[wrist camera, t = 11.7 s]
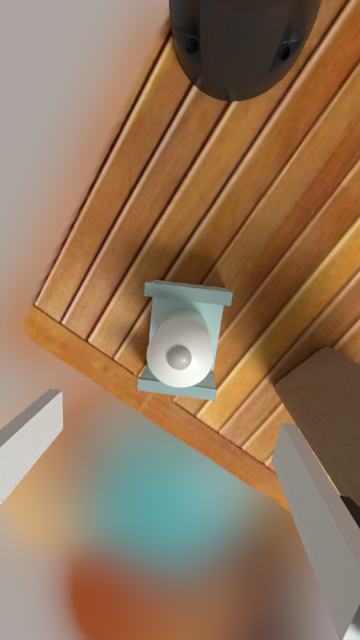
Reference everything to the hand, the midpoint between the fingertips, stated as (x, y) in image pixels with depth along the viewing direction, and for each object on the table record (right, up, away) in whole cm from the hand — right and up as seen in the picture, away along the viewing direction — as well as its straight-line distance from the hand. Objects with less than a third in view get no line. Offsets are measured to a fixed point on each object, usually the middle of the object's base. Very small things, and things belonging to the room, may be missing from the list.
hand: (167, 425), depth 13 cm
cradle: (+1, +5, +20) cm, 20 cm away
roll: (+1, +4, +19) cm, 19 cm away
